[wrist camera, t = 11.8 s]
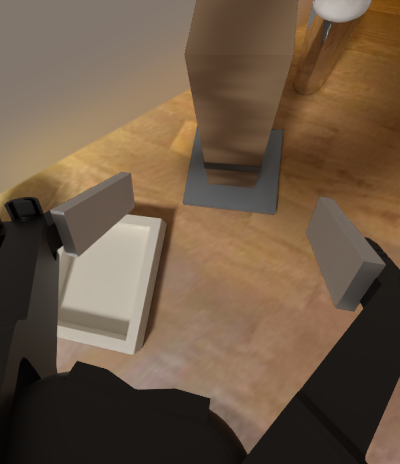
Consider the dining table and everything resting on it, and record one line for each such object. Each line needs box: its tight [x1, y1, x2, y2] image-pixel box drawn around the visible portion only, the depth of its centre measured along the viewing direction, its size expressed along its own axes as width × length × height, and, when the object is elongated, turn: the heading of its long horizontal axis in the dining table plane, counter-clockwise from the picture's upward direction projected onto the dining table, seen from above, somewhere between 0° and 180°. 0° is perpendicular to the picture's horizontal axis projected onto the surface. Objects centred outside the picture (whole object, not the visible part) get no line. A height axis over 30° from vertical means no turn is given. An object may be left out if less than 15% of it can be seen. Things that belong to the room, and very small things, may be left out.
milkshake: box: [293, 0, 372, 95], centre depth 21 cm, size 5×5×10 cm
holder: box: [57, 214, 167, 355], centre depth 22 cm, size 11×13×2 cm
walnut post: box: [185, 0, 298, 188], centre depth 17 cm, size 5×5×14 cm
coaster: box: [183, 125, 283, 215], centre depth 24 cm, size 10×10×1 cm
